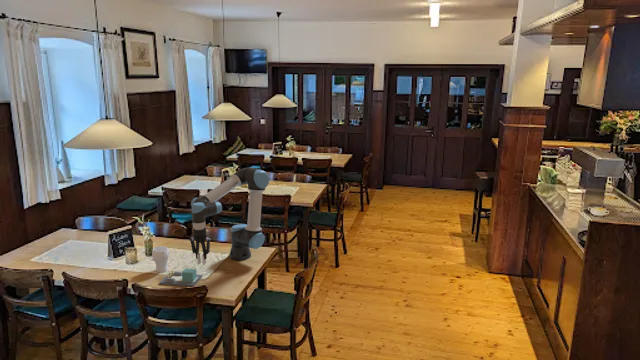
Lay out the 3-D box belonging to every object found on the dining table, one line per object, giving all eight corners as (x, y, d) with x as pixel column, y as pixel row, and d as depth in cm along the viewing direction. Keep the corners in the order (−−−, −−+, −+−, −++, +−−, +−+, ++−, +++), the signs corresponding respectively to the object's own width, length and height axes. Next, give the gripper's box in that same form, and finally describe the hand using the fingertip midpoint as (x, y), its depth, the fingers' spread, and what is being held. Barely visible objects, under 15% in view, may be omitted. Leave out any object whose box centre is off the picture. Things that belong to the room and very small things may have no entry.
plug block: (196, 277, 282) (196, 269, 281) (193, 281, 277) (192, 272, 275) (186, 276, 283) (185, 268, 282) (182, 280, 278) (181, 272, 276)
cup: (156, 266, 300) (154, 246, 297) (172, 266, 301) (170, 245, 297) (151, 273, 290) (149, 252, 286) (168, 273, 291) (166, 252, 287)
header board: (202, 276, 287) (201, 269, 285) (192, 287, 273) (192, 279, 272) (169, 274, 290) (169, 267, 288) (159, 284, 276) (158, 277, 275)
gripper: (214, 226, 273) (216, 262, 279) (189, 225, 275) (192, 260, 281) (209, 230, 266) (211, 267, 272) (184, 229, 268) (187, 265, 274)
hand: (201, 263), depth 276 cm, fingers open, 3 cm apart
